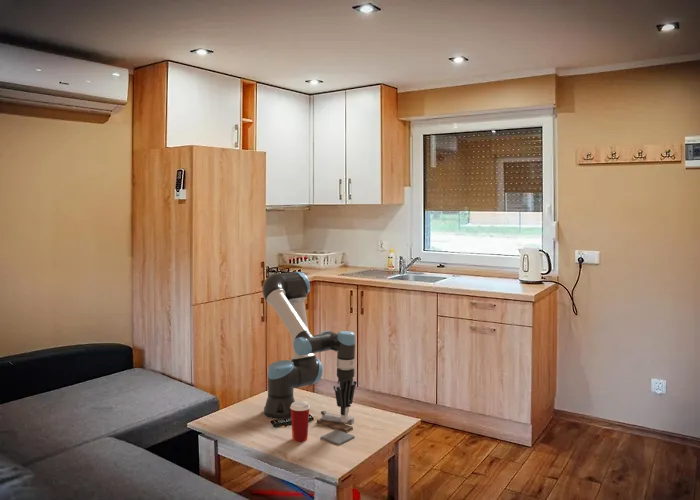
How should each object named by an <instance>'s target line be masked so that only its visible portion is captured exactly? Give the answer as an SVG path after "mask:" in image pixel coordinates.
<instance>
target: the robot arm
mask: <svg viewBox="0 0 700 500" xmlns="http://www.w3.org/2000/svg"><path fill="white" fill-rule="evenodd" d="M310 289H311V284H310V280H309V278H308V276H307V275H306V274H305V273H303V272H301V271H291V272H280V273H279V272H278V273H272V274H270V275H269V276H267V278H266V279H265V280H264V282H263V284H262V295H263V298H264V300H265V301H266V303H267V304H268V305H269V306H271V307H272V308H273V310H274V312H275V313H276V314H277V316H278V317H279V319H280V320H281V322H282V324H283V325H284V327H286V329H287V331H288V333H289V334H290V337H291V338H290V339H291V346H292V351H293V356H292V357H291V360H290V359H289V360H288V359H284V360H277V361H274V362H272V363H270V365H269V366H268V368H267V398H266V401H265V405H264V407H263V414H264V416H265V417H267V418H270V419H279V420H280V419H281V420H283V418H284V419H288V418H289V417H290V418H291V408H290V406H291V404H292V403H293V402H296V401H295V400H296V399H295V397H294V389H298V388H301V387H308V386H312V385H314V384H317V383H319V382H320V381H321V378H322V377H323V369H324V367H323V365H322V364H323V363H322V362H321V360H320V359H319V358H317V357H316V354H317V353H322V352H327V351H334V352H336V353H337V356H336V367H337V368H336V377H337V384H336V385H334V386H333V390H334V395H335V401H336V406H337V407H338V408H340V415H341V421H342V422H345V423H346V422H348V416H349V412H350V411H349V410H350V409H349V408H350V407H352V404H353V400H354V394H355V389H356V385H357V381H356V380H354V378H355V359H356V358H355V357H356V356H355V355H356V334H355V332H353V331H349V330H342V331H339V332H335V331H334V332H333V331H331V330H324V331H322V332H320V333H319V334H312V332H311V330H309V327H308V326H309V325H308V319H307V317H308V316H307V313H306V305H305V302H306V300H307V299H308V297H307V295H308V294H309V293H310V292H311V291H310Z"/></svg>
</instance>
